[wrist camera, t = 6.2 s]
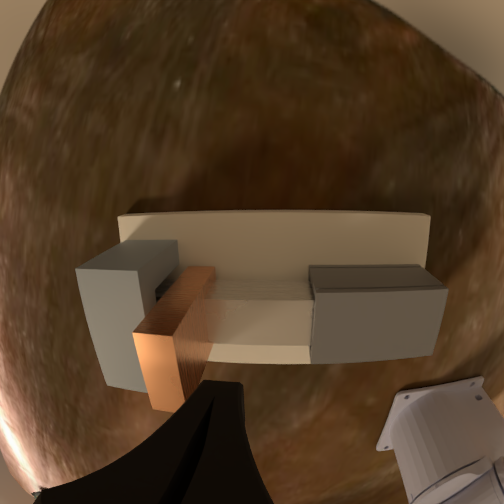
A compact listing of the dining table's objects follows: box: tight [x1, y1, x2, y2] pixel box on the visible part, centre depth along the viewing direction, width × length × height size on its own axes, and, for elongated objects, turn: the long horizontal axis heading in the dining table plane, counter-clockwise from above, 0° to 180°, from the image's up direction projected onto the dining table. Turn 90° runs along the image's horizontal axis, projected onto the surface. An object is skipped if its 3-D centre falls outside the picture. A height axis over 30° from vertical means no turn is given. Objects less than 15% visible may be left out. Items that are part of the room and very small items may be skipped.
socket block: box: [75, 240, 179, 393], centre depth 16 cm, size 4×7×6 cm, turn 1°
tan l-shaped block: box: [132, 266, 315, 413], centre depth 14 cm, size 12×4×8 cm, turn 91°
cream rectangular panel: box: [118, 210, 449, 364], centre depth 17 cm, size 19×10×5 cm, turn 91°
